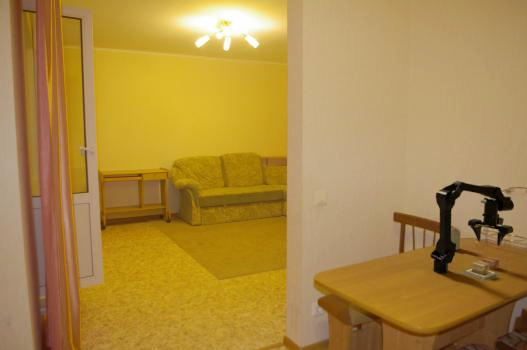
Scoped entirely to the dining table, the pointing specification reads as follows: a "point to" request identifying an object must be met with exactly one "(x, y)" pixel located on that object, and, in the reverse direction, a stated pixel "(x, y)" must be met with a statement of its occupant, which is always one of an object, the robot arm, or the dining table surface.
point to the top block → (492, 262)
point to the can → (455, 236)
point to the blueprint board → (484, 278)
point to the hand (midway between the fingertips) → (488, 243)
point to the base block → (480, 268)
